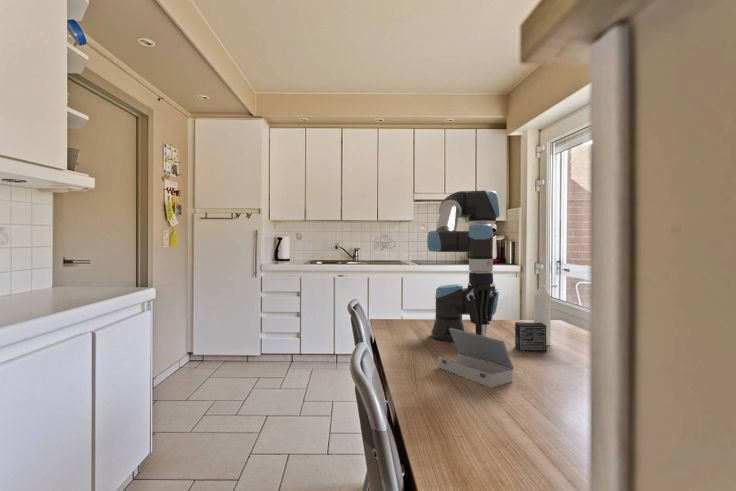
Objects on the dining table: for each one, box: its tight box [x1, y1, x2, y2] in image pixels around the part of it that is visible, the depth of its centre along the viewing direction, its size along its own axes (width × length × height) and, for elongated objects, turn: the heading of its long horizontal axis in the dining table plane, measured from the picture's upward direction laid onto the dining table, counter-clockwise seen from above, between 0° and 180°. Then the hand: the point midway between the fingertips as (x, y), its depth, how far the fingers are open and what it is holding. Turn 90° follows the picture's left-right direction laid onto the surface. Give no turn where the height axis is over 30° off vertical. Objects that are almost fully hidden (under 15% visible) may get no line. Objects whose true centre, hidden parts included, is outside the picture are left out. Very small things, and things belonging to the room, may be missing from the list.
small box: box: [514, 321, 547, 353], centre depth 159 cm, size 11×6×10 cm, turn 84°
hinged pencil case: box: [437, 352, 514, 389], centre depth 129 cm, size 22×10×4 cm, turn 34°
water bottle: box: [533, 283, 558, 347], centre depth 168 cm, size 9×6×25 cm
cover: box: [449, 328, 514, 371], centre depth 131 cm, size 22×10×1 cm
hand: (481, 344), depth 131 cm, fingers closed
